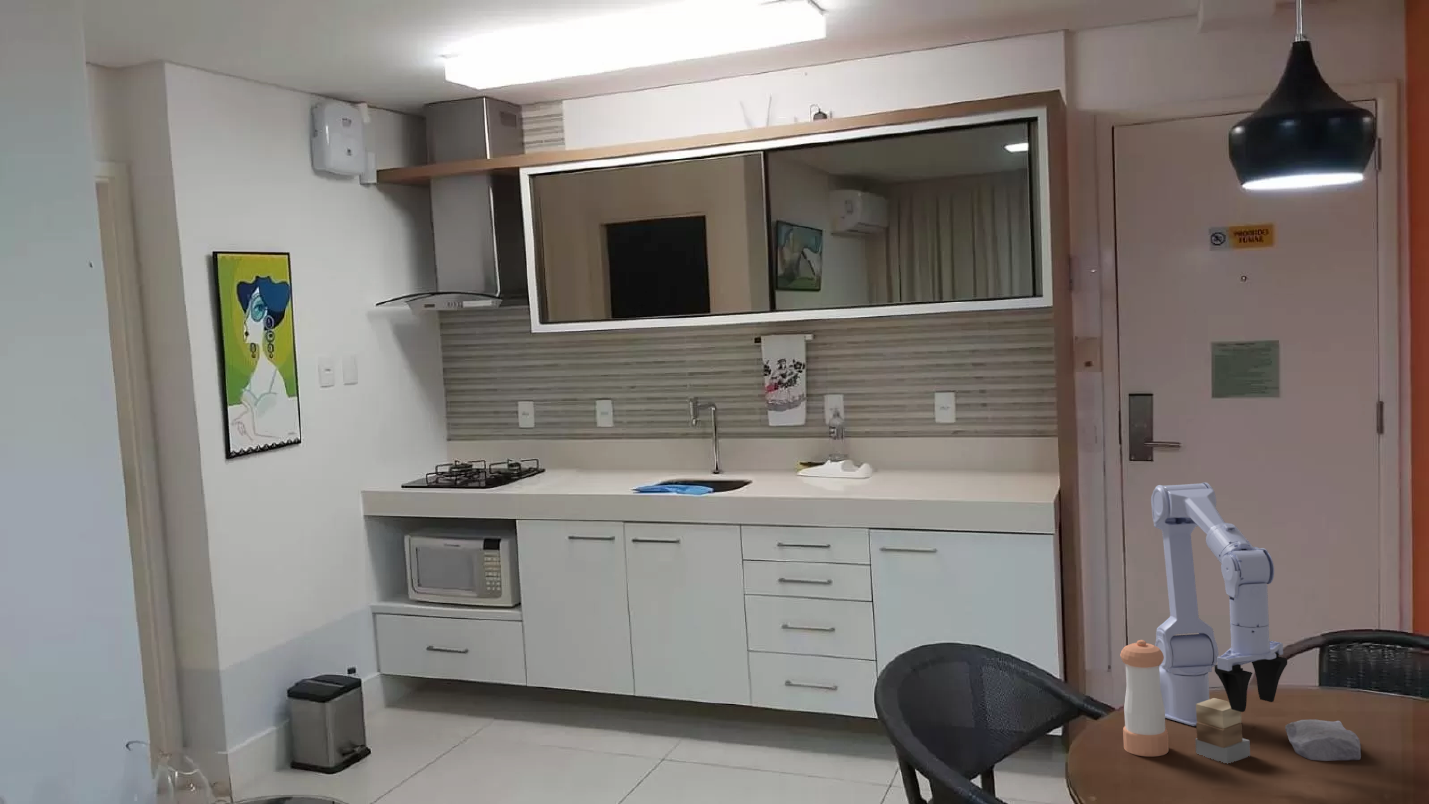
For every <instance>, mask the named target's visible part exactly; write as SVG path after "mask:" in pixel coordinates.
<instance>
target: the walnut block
mask: <svg viewBox="0 0 1429 804" xmlns="http://www.w3.org/2000/svg"><path fill="white" fill-rule="evenodd" d="M1196 738H1197V740H1199V741H1202V742H1206V743H1209V744H1212V745H1215V746H1218V747H1222V748H1225V747H1228V746H1231V745H1233V744H1236V743H1239V742H1242V738H1243V725H1242V722H1240V723H1238V724H1235V725H1232V726H1230V727H1227V728H1224V729H1222V728H1219V727H1215V726H1212V725H1208V724H1204V723H1201V722H1197V723H1196Z"/></svg>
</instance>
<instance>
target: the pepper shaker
mask: <svg viewBox="0 0 1429 804" xmlns="http://www.w3.org/2000/svg"><path fill="white" fill-rule="evenodd" d="M1119 655H1120V658H1121V662H1123V664H1125V678H1126V679H1125V680H1126V683H1125V684H1126V685H1125V686H1126V689H1125V690H1126V691H1125V697H1124V705H1123V711H1124V713H1123V714H1124V726H1123V729H1122V733H1123V736H1122V737H1123V748H1124V750H1125V752H1127V753H1129V754H1131V755H1135V756H1141V757H1150V758H1151V757H1160V756H1164V755H1166V754H1167V753H1168V752H1169V750H1170V749H1169V732H1168V729H1167V728H1166V718H1165V709H1164V704H1163V699H1162V694H1161V690H1160V671H1159V667H1160V665H1161V664H1162V662H1163V659H1164V656H1163V653H1162V651H1161V650H1160V648H1158V647H1156V646H1155V644H1152V643H1147V641H1146V640H1144V639H1140V640H1139V639H1138V640H1137V641H1136V642H1133V643H1130V644H1127V645H1125V646H1124V647H1123V648H1122V649H1121V652H1120V654H1119Z"/></svg>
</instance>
